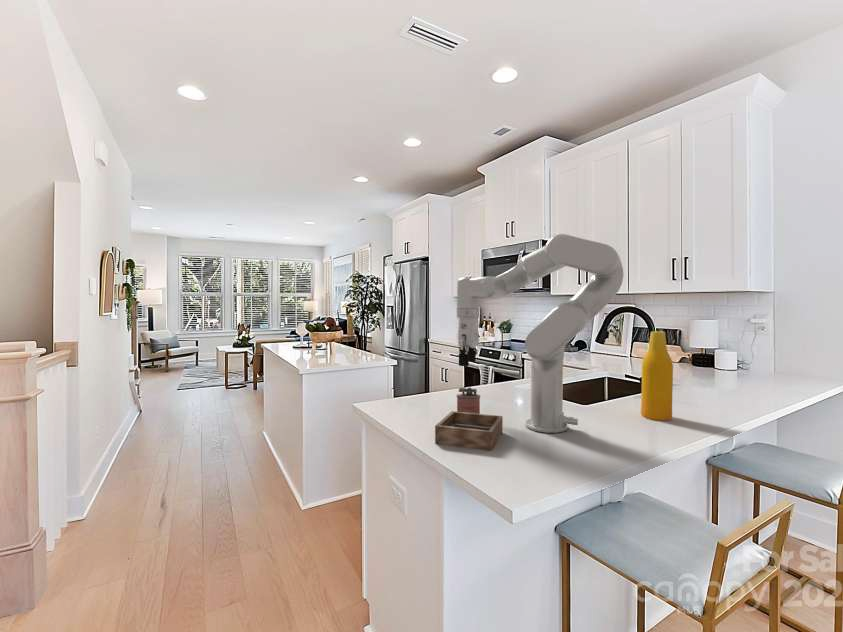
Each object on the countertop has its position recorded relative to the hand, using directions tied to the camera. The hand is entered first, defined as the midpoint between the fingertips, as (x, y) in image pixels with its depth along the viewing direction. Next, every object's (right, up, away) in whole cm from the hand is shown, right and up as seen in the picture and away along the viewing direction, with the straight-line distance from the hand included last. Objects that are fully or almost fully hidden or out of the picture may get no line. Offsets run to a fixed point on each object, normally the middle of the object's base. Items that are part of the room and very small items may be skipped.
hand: (467, 363), depth 142 cm
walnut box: (-2, -19, -21) cm, 29 cm away
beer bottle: (+64, -18, -1) cm, 66 cm away
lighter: (0, -19, +1) cm, 19 cm away
